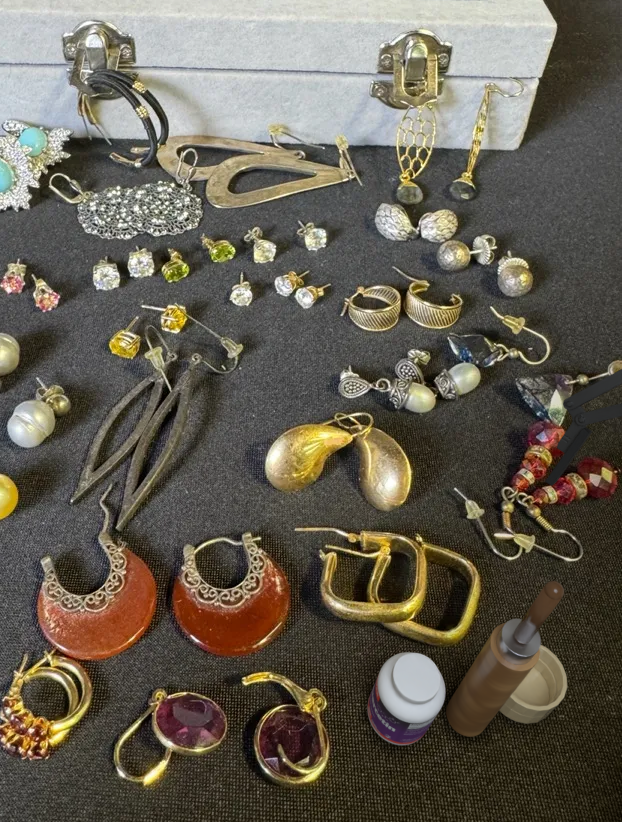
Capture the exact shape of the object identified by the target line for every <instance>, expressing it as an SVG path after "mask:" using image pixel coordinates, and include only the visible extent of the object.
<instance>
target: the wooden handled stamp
mask: <svg viewBox="0 0 622 822" xmlns="http://www.w3.org/2000/svg"><path fill="white" fill-rule="evenodd" d="M564 595H565V588H564V586H563V585H562V584H561V583H560V582H559V581H557V580H550V581H548V582H546V583H545V584H544V586H543V587H542V589H541V590H540V592H539V593H538V595H537V596H536V598H535V599H534V600H533V602H532V603H531V605H530V606H529V608H528V610H527V611H526V612H525V614H524V615H523V617H522V618H512V619H509V620H508V621H506V622H504V623H505V625H504V626H503V628H502V629H501V631H500V632H499V634H498V636H497V639H496V646H497V649H498V651H499V653H500V655H501V656H502V657H503V658H504V659H505V660H506V661H508V662H510V663H512V664H516V665H523V664H526V663H528V662H529V661H530V660H531V659H532V658H533V657H534V655H535V654H536V653H537V652H538V650H539V648H540V645H542V640H541V639H542V638H541V635H540V633H539V630H540V629H541V627H543V625H544V623H545V622H546V621H547V619H548V618H549V616H550V615H551V613H552V612H553V611H554V610H555V608H556V607H557V605H559V603H560V602H561V600H562V599H563V597H564Z"/></svg>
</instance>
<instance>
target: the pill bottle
mask: <svg viewBox="0 0 622 822" xmlns="http://www.w3.org/2000/svg"><path fill="white" fill-rule="evenodd" d="M445 699H446V685H445V680H444V678H443V675H442V673H441V672H440V669H439V668H438V666H437V665H436V664H435V662H434V661H433V660H432V659H431V658H430V657H428V656H427V655H424V654H423V653H420V652H409V651H406V652H405V651H404V652H400V653H396V654H394V655H393V656H391V657H389V658H388V659H387V660H386V661H385V662H384V663H383V665H382V666H381V668H380V670H379V673H378V675H377V677H376V679H375V682H374V684H373V687H372V689H371V692H370V694H369V697H368V700H367V708H366V709H367V716H368V717H367V718H368V720H369V723H370V725H371V727H372V728H373V730H374V731H375V733H376V734H377V735H378V736H379V738H381V739H383V740H384V741H385V742H387V743H390V744H393V745H396V746H409V745H412V744H414V743H416V742H418V741H420V740H421V739H422V738H423V737H424V736H425V734H426V733H427V731H428V730H429V728H430V727H431V725H432V723H433V722H434V720H435V719H436V717H437V716H438V715H439V712H440V711H441V709H442V707H443V705H444V703H445Z"/></svg>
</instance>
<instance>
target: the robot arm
mask: <svg viewBox="0 0 622 822" xmlns="http://www.w3.org/2000/svg"><path fill="white" fill-rule="evenodd" d="M621 385H622V368H621V369H619V370H617V371H615V372H614V373H611V374H610V375H608V376H606V377H604V378H602V379H601V380H598V381H597V382H595V383H592V384H591V385H589V386H587V387H585V388H583V389H582V390H580V391H578V392H576V393H574V394H572V395H571V396H568V397H567V398H565V399H564V400H563V401H562V406H563V408H564V409H565V410H566V411H567V412H568V413H569V415H570V417H571V418H572V421H571V423H570V425H569V427H568V428H567V429H566V430H565V432H564V434H563V435H562V436H561V438H560V439H559V441H557V445H556V448H557V450H559V451H560V452H562V453H563V455H562V457H561V458H560V460H559V461H558V462H557V464H556V465H555V466H554V468H553V469H552V471H551V472H550V473H549V475H548V477H546V479H545V481H544V482H545V483H547V484H548V485H549V486H551V487H553V486H554V485H555V484H556V483H558V481H559V479H560V478H561V476H563V474H564V472H565V471H566V470H567V468H568V466H569V465H570V464H571V462H573V460H574V458H576V456H577V454H578V453H579V451H580V450H581V448H582V447H583V446H584V444H585V443H586V441H587V440H588V439H589V437H590V436H591V434H593V430H592V429H590V428H589V427H588V425H592V424H596V423H600V422H605V421H608V420H609V421H610V420H612V419H618V418H620V417H622V402H621V403H616V404H612V405H608V406H605V407H600V408H596V409H593V410H588V411H586V409H585V408H584V407H583V405H585V404H587V403H589V402H591V401H593V400H595V399H597V398H598V397H601V396H602V395H604V394H606V393H608V392H610V391H612V390H614V389H616V388H618V387H619V386H621Z"/></svg>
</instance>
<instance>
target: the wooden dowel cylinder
mask: <svg viewBox="0 0 622 822" xmlns="http://www.w3.org/2000/svg"><path fill="white" fill-rule="evenodd" d="M505 623H506V622H504V623H501V624H499V625H497V626H496V627H495V628H494V629H493V630H492V632H491V633H490V635H489V637H488V639H487V640H486V642H485V643H484V645H483V646H482V648H481V650H480V652H479V653H478V655H477V656H476V657H475V659H474V661H473V662H472V664H471V665H470V667H469V669H468V671H467V672H466V674H465V675H464V677H463V679H462V680H461V681H460V683H459V685H458V687H457V688H456V690H455V691H454V693H453V694H452V696H451V698H450V699H449V701H448V702H447V705H446V711H445V712H446V713H445V714H446V719H447V721H448V724H449V726H450V727H451V728H452V729H453V730H454V731H455V732H456V733H458V734H459V735H461V736H464V737H468V738H469V737H470V738H473V737H477V736H479V735H481V734H482V733H483V732H484V731H485V729H486V728H487V727H488V726H489V724H490V723H491V722H492V720H493V719H494V718H495V717H496V716H497V714H498V713H499V712H500V711H499V710H500V709H501V708H502V706H503V705H504V704H505V703H506V701H507V700H508V699H509V698H510V696H511V695H512V694H513V692H514V691H515V690H516V689H517V687H518V686H519V685H520V684H521V682H522V681H523V680H524V679H525V677H526V676H527V675H528V673H529V672H530V671H531V670H532V668H533V667H534V666H535V665H536V663H537V662H538V659H539V656H540V648H539V650H538V652H537V653H536V654H535V655H534V657H533V658H532V659H531V660H530V661H529V662H528V663H526V664H523V665H516V664H512V663H510V662H508V661H506V660H505V659H504V658H503V657H502V656H501V655H500V653H499V651H498V649H497V646H496V639H497V636H498V634H499V632H500V631H501V629H502V628H503V626H504V625H505Z"/></svg>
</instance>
